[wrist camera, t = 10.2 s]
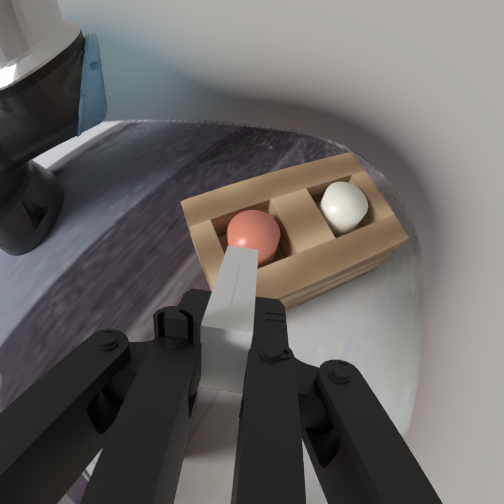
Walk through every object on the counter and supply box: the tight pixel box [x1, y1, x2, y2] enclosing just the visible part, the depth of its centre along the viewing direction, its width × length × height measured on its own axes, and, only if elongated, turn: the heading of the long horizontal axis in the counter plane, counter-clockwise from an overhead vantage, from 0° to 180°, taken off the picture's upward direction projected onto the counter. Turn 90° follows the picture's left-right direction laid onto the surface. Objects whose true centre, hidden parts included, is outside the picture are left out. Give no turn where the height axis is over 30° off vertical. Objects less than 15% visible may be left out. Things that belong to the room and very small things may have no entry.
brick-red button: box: [227, 210, 280, 269], centre depth 27 cm, size 5×5×4 cm
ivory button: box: [318, 182, 368, 238], centre depth 29 cm, size 5×5×4 cm
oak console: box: [181, 152, 409, 310], centre depth 31 cm, size 12×20×9 cm, turn 113°
